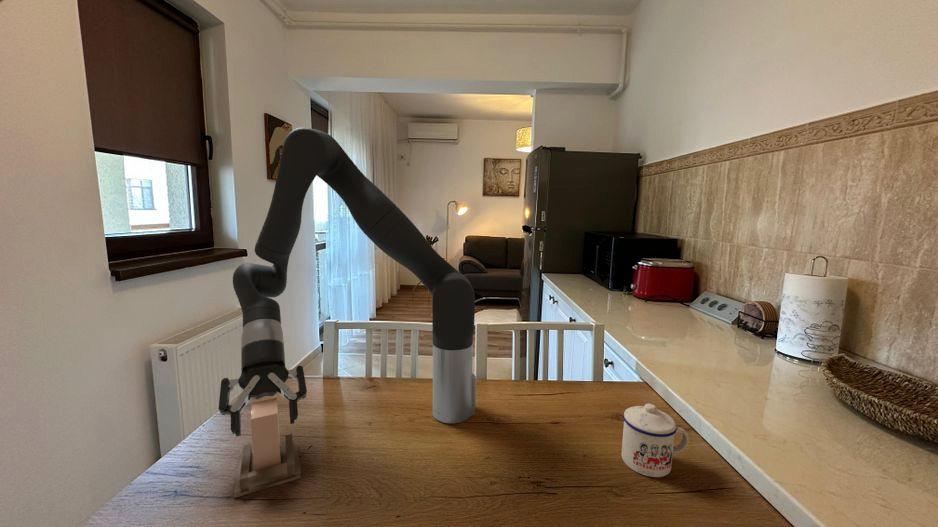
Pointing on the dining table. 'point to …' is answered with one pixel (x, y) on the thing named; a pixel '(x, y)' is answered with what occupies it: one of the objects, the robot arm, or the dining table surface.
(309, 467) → the dining table surface
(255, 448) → the clay block
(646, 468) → the teacup with lid
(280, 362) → the robot arm
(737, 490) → the dining table surface
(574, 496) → the dining table surface
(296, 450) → the tray
